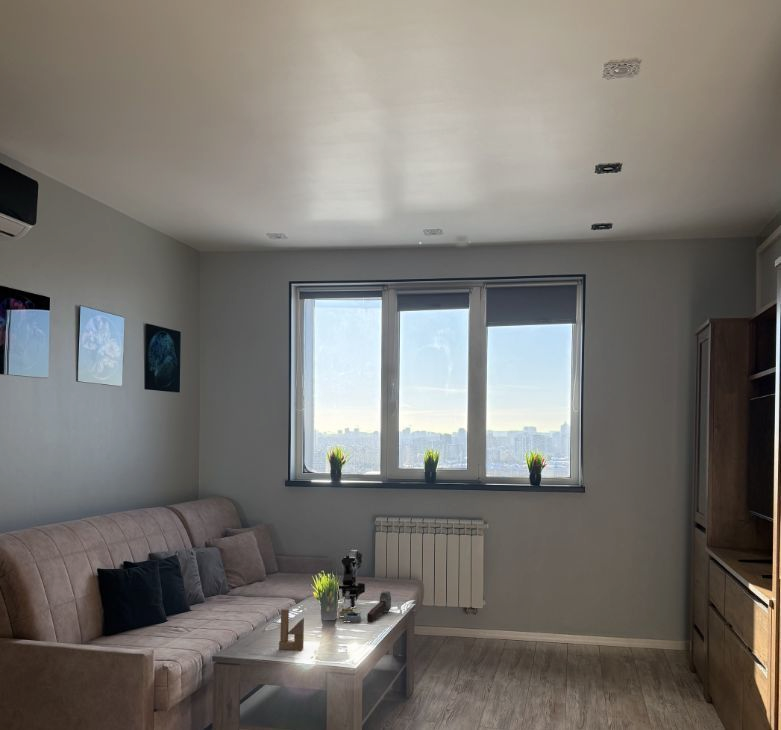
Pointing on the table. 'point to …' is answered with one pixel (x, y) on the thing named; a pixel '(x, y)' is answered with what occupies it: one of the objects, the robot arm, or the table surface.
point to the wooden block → (296, 631)
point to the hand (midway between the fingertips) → (347, 601)
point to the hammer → (380, 606)
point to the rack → (346, 611)
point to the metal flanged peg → (347, 602)
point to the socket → (352, 617)
